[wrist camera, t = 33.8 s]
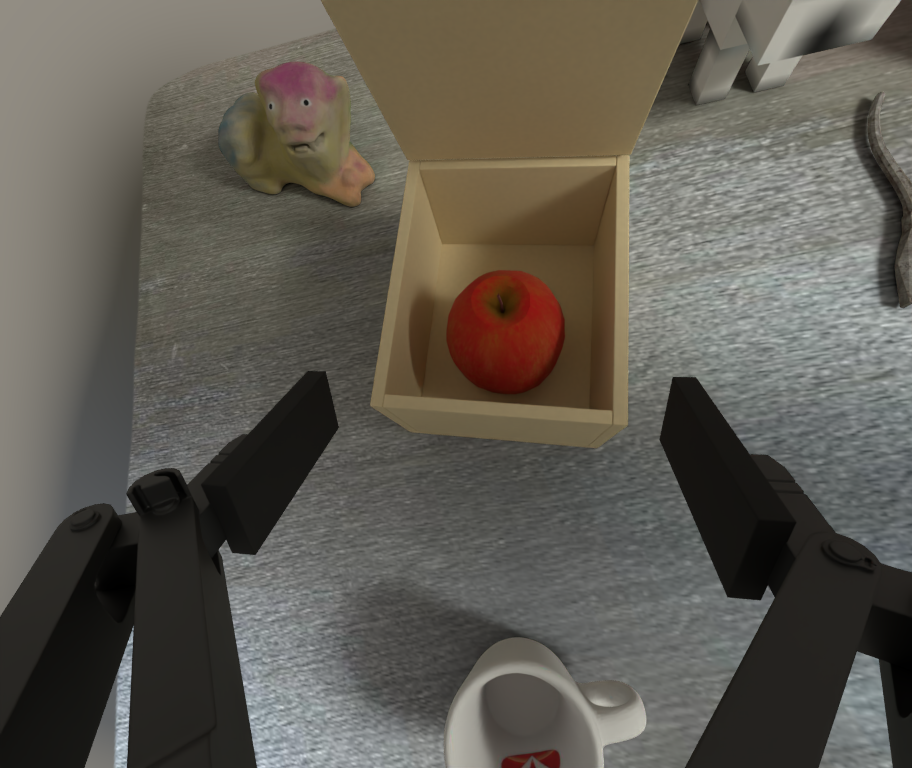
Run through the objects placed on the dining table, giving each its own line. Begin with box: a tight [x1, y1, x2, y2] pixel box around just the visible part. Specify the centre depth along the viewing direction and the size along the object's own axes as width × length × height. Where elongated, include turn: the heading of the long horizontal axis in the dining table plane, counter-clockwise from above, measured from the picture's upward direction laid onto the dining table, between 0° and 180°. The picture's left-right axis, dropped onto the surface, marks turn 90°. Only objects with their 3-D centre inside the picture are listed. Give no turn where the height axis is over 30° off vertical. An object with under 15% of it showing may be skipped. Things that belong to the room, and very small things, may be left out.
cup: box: [444, 637, 646, 768], centre depth 25 cm, size 11×8×8 cm
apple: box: [446, 270, 565, 394], centre depth 29 cm, size 8×8×11 cm
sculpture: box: [218, 62, 375, 207], centre depth 39 cm, size 15×8×10 cm, turn 79°
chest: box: [370, 155, 629, 448], centre depth 31 cm, size 18×15×10 cm
